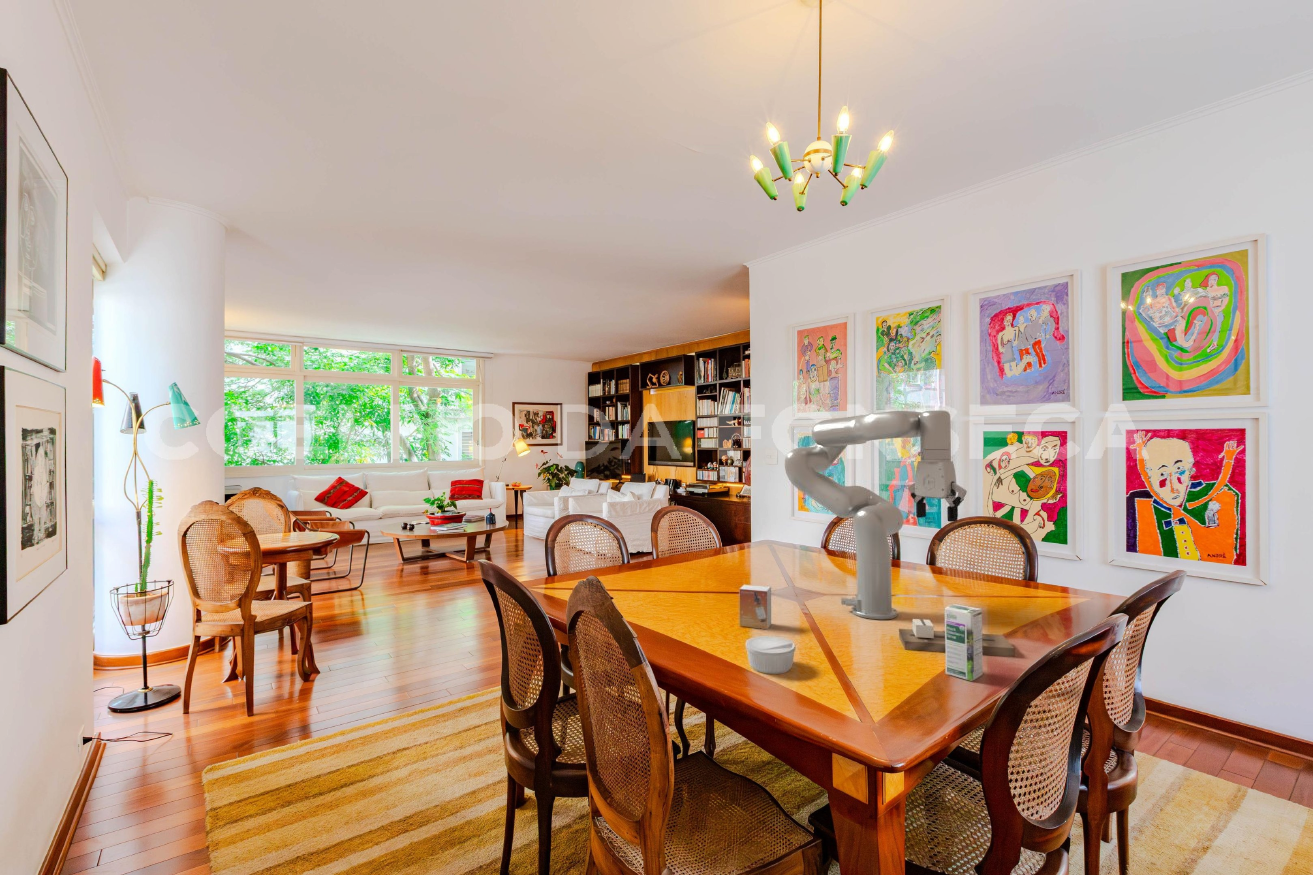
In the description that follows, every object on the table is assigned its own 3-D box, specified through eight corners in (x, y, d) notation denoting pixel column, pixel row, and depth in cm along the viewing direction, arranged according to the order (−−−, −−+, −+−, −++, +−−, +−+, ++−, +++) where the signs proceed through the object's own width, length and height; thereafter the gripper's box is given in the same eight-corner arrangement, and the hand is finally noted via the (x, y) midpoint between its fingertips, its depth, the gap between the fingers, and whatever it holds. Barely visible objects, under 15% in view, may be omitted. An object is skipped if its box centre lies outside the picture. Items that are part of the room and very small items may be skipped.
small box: (738, 626, 166) (738, 588, 166) (743, 620, 171) (743, 583, 171) (767, 629, 163) (767, 590, 163) (771, 623, 168) (771, 586, 168)
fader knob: (916, 636, 148) (915, 624, 148) (912, 630, 152) (912, 618, 152) (933, 638, 147) (933, 625, 147) (929, 631, 151) (929, 619, 151)
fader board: (904, 649, 146) (904, 640, 146) (898, 636, 156) (898, 628, 156) (1015, 656, 140) (1014, 647, 140) (1001, 642, 150) (1001, 634, 150)
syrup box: (944, 674, 130) (943, 607, 130) (956, 667, 134) (955, 602, 134) (972, 682, 126) (970, 612, 126) (983, 674, 130) (982, 607, 130)
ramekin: (785, 680, 128) (785, 655, 128) (737, 670, 134) (737, 646, 134) (802, 663, 138) (802, 640, 138) (757, 654, 144) (756, 632, 144)
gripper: (899, 455, 169) (900, 516, 169) (955, 457, 153) (956, 523, 153) (918, 455, 172) (918, 514, 172) (974, 456, 157) (975, 521, 157)
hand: (936, 519), depth 163 cm, fingers open, 9 cm apart
